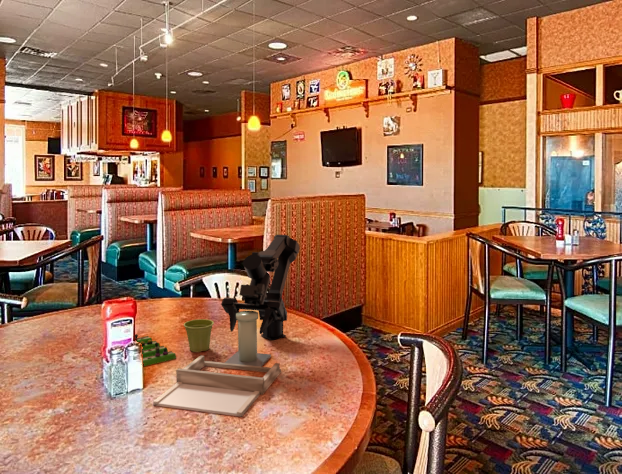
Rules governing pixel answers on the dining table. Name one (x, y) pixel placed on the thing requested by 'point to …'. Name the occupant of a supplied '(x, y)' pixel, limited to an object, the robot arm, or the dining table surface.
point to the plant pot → (199, 334)
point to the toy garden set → (154, 351)
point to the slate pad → (259, 362)
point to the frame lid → (207, 399)
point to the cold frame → (227, 376)
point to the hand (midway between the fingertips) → (245, 332)
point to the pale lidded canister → (247, 335)
